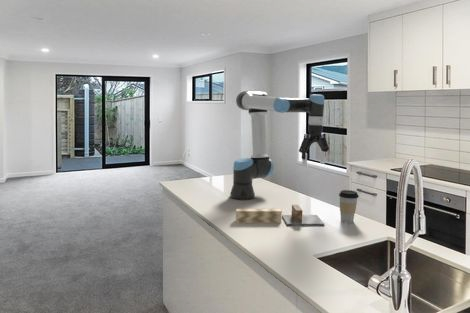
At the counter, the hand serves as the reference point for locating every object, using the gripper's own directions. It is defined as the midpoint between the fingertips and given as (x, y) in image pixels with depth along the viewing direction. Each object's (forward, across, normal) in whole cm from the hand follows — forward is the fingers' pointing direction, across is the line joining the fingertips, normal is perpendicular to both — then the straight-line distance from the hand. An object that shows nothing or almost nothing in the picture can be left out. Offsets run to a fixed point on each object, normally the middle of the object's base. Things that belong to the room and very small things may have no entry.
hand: (313, 164), depth 201 cm
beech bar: (+26, -35, +1) cm, 44 cm away
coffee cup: (+26, +2, -22) cm, 34 cm away
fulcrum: (+26, -16, -10) cm, 32 cm away
